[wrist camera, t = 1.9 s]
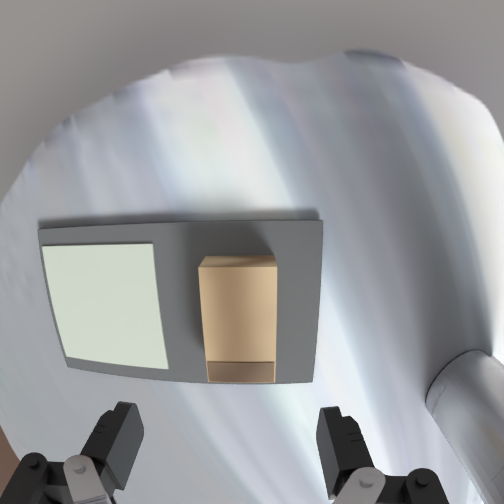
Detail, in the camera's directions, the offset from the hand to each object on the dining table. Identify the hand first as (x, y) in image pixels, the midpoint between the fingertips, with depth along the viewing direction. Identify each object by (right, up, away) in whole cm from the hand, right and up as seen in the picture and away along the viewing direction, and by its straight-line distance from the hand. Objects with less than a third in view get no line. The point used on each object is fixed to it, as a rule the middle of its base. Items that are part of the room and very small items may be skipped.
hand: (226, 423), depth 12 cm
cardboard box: (0, +3, +12) cm, 12 cm away
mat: (-6, +3, +12) cm, 14 cm away
